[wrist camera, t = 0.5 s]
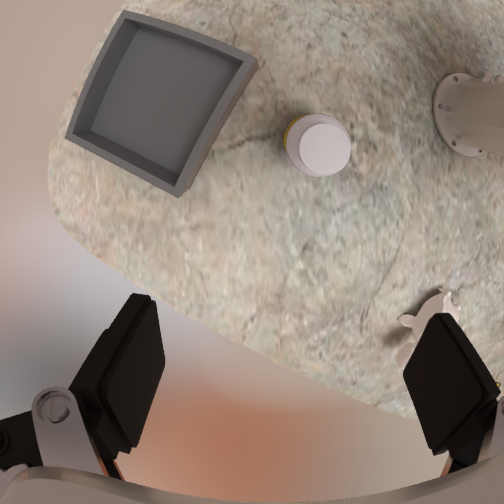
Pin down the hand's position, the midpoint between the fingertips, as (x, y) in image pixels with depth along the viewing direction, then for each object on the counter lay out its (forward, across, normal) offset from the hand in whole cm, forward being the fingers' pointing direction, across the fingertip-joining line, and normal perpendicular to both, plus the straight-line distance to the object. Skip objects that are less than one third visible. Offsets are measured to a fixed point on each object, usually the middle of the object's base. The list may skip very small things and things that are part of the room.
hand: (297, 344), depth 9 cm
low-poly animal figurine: (+30, -29, +22) cm, 47 cm away
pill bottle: (+30, -4, -5) cm, 31 cm away
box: (+30, +15, -10) cm, 35 cm away
